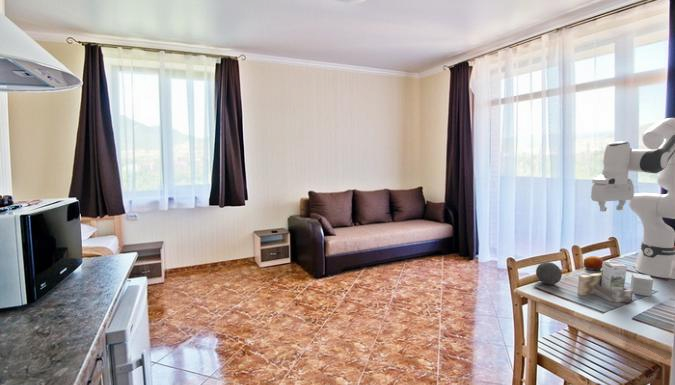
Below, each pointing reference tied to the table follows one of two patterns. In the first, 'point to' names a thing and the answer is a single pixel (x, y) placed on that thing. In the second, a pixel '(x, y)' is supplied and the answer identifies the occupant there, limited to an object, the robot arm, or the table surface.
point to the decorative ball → (548, 273)
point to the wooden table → (601, 289)
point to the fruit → (593, 263)
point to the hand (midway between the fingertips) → (611, 210)
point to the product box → (641, 284)
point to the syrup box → (613, 275)
